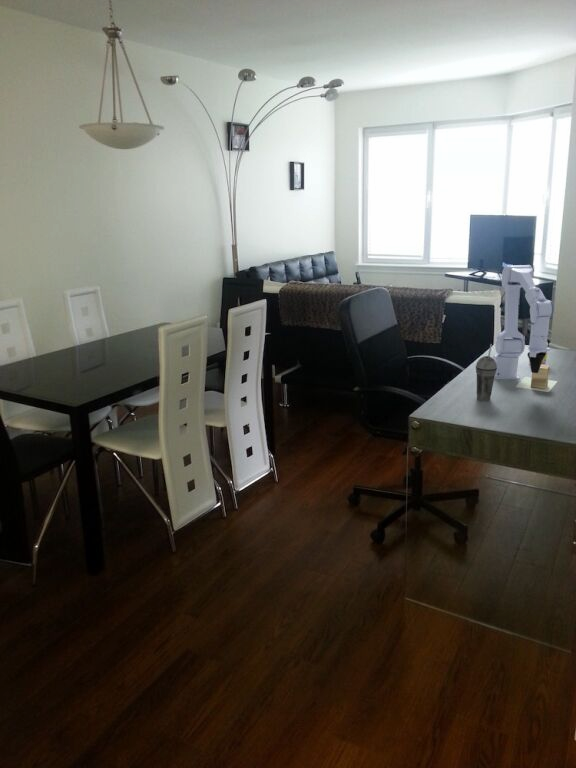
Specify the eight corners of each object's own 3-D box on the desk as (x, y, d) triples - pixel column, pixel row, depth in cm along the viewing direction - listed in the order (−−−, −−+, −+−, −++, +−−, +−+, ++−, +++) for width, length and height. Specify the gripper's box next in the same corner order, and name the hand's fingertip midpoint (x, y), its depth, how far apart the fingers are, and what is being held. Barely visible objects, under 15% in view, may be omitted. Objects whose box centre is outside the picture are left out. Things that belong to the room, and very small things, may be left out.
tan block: (544, 389, 228) (547, 368, 225) (530, 387, 230) (532, 366, 228) (547, 385, 232) (549, 365, 229) (533, 383, 234) (535, 363, 232)
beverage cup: (468, 396, 221) (473, 342, 215) (485, 394, 224) (490, 341, 218) (481, 402, 215) (486, 347, 209) (498, 400, 217) (503, 345, 211)
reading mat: (548, 392, 225) (548, 392, 225) (515, 387, 231) (515, 386, 231) (557, 381, 237) (557, 381, 237) (525, 377, 244) (525, 376, 244)
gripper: (546, 340, 208) (542, 378, 212) (555, 332, 219) (550, 369, 223) (525, 338, 212) (521, 375, 216) (534, 330, 223) (530, 366, 227)
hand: (534, 372), depth 220 cm, fingers closed
